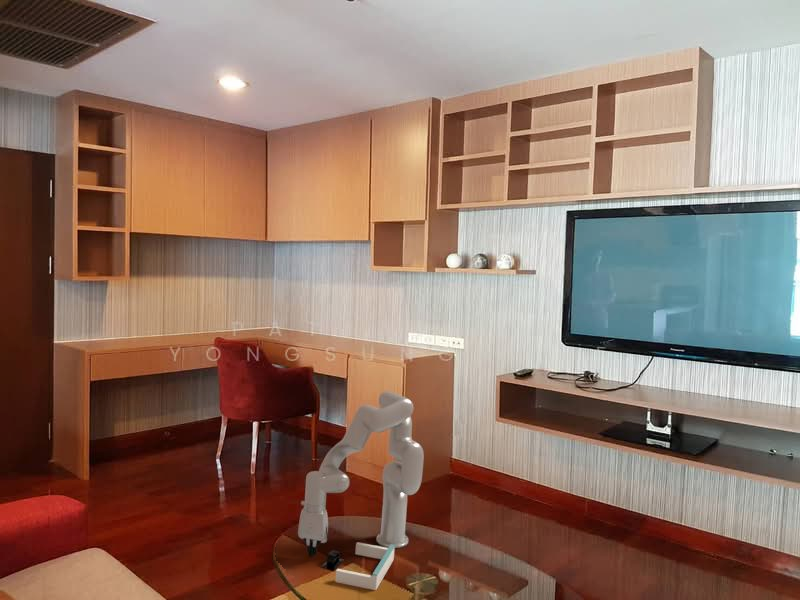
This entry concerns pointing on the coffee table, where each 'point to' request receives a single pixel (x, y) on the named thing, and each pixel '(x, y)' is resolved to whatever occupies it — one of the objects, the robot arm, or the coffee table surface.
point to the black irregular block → (332, 561)
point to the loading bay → (378, 574)
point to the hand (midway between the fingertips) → (311, 555)
